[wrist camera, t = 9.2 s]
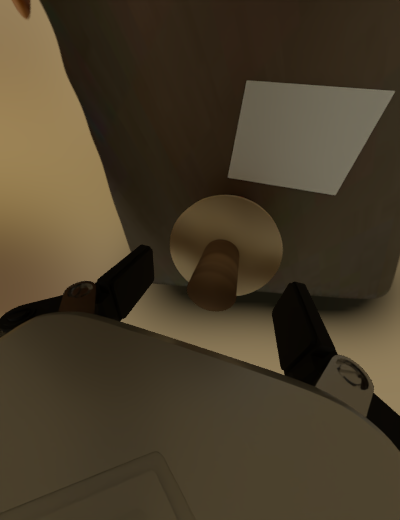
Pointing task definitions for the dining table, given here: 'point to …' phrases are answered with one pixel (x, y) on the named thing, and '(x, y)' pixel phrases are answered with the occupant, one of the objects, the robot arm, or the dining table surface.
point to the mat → (303, 133)
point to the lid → (225, 249)
